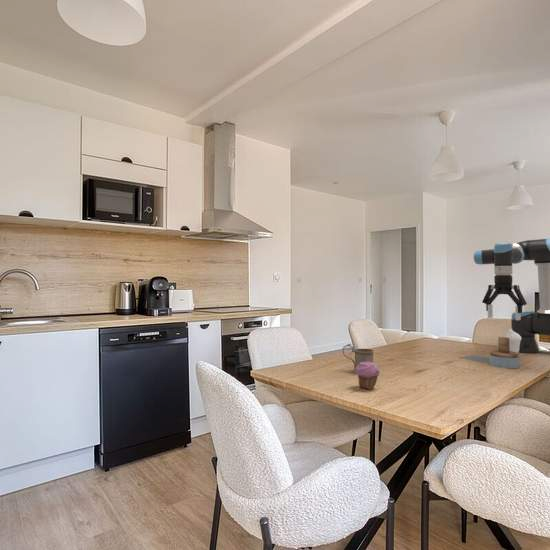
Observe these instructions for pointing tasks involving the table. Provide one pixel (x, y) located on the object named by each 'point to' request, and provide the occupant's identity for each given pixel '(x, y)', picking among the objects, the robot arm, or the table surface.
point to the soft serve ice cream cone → (513, 340)
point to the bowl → (504, 362)
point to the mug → (360, 356)
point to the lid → (504, 349)
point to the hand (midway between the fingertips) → (503, 319)
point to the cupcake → (367, 374)
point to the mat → (476, 358)
